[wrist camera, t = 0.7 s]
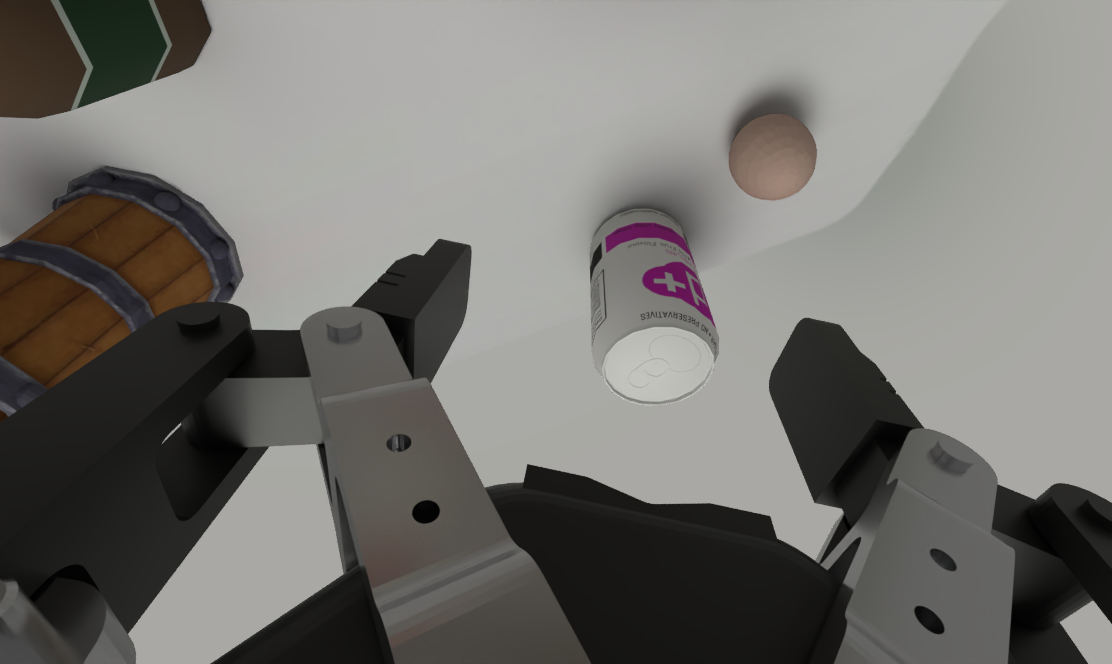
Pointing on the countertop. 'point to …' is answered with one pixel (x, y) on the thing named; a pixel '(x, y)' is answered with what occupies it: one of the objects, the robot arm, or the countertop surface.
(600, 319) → the supplement can
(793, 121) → the egg
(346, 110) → the countertop surface
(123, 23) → the beer bottle
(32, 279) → the mug
